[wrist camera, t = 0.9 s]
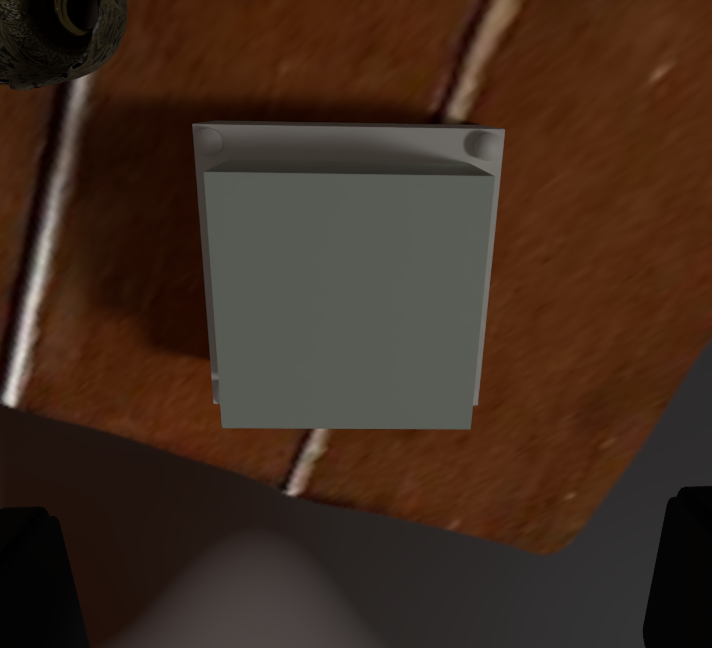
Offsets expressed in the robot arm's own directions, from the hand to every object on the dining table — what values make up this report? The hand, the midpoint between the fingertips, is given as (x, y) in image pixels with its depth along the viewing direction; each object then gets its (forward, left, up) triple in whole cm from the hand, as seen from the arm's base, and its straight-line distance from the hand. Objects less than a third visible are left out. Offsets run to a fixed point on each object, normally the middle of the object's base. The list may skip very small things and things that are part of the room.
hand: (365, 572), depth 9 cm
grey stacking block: (+1, 0, -26) cm, 26 cm away
